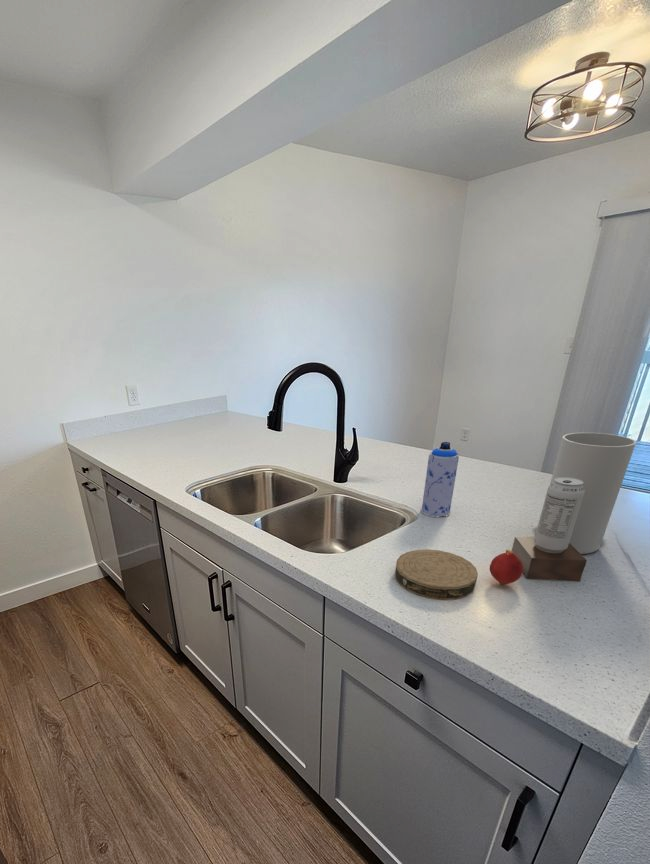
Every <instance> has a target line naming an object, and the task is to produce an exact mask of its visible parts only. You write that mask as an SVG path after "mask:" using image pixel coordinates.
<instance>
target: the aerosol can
mask: <svg viewBox="0 0 650 864" xmlns="http://www.w3.org/2000/svg"><path fill="white" fill-rule="evenodd" d="M427 459H428V460H427V466H426V473H425V474H426V475H425V482H424V488H423V497H422V504H421V508H420V512H421V514H423V513H424V514H426V515H425V516H427V515H430V516H446V515H449V514H450V515H451V512H452V511H451V507H452V502H453V495H454V490H455V483H456V477H457V471H458V465H459V459H460V455H459V453H458V452H457V450H456V449H454V448H453V447H451V442H449V441H443V442H441V443H440V446H438V447H436V448H434V449H433V450H432V451H431V452H430V453H429V455H428V458H427ZM424 514H423V515H424ZM450 515H449V516H450ZM430 516H429V517H430ZM446 517H447V516H446Z"/></svg>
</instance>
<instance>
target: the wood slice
mask: <svg viewBox="0 0 650 864" xmlns="http://www.w3.org/2000/svg"><path fill="white" fill-rule="evenodd" d="M395 562H396V563H395V573H394V574H395V575H394V578H395V580H396V582H397V583H398V584H399V585H400V586H401V587H402V588H403V589H404V590H406V591H408V592H410V593H412V594H414V595H417V596H420V597H423V598H427V599H432V600H440V601H450V600H451V601H452V600H459V599H463V598H466V597H468V596H469V595H471V594H472V593H473V592H474V590H475V587H476V585H477V580H478V575H479V574H478V570H477V567H476V566H475V565H474V564H473V563H472V562H471V561H469V560H467V559H466V558H464V557H463V556H460V555H457V554H455V553H452V552H448V551H444V550H440V549H439V550H438V549H427V548H426V549H415V550H414V549H413V550H410V551H407V552H405V553H403V554H400V555H399V557H398V558H397V559H396V561H395Z"/></svg>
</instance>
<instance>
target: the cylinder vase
mask: <svg viewBox="0 0 650 864" xmlns="http://www.w3.org/2000/svg"><path fill="white" fill-rule="evenodd" d="M636 444H637V441H636V440H635V439H633V438H630V437H627V436H624V435H619V434H613V433H604V432H571V433H567V434H564V435H563V436H562V439H561V443H560V446H559V449H558V453H557V457H556V461H555V464H554V469H553V472H552V476H551V479H550V483H549V485H550V484H551V483H552V482H553V481H554V478H557V477H571V478H576V479H579V480H582V481H583V482H584V483H583V487H584V490H585V493H584V496H583V499H582V502H581V506H580V509H579V512H578V515H577V519H576V522H575V525H574V528H573V532H572V535H571V538H570V541H569V543H570V544H571V545H572V546H573V547H574V548H575V549H576V550H577V551H578V552H579V553H580V554H581V555H588V554H592V553H595V552H597V551H598V550H599V549H600V548H601V544H602V542H603V539H604V536H605V533H606V530H607V528H608V524H609V521H610V519H611V516H612V513H613V511H614V507H615V504H616V501H617V499H618V496H619V493H620V490H621V488H622V484H623V481H624V479H625V476H626V474H627V470H628V467H629V464H630V461H631V458H632V457H633V456H632V455H633V453H634V450H635V447H636Z"/></svg>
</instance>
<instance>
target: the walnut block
mask: <svg viewBox="0 0 650 864" xmlns="http://www.w3.org/2000/svg"><path fill="white" fill-rule="evenodd" d="M534 538H535V536H534V537H531V536H515V537H514V540H513V543H512V547H511V551H512V552H513V553H514V554H515V555H516V556H518V557H519V559H520V560H521V562H522V564H523V573H522V575H523V576H524V578H525V579H528V580H545V581H562V582H563V581H565V582H581V579H582V576H583V573H584V570H585V567H586V565H587V559H586V558H585V556H583V554H580V553H579V552H578V551H577V550H576V549H575V548H574V547H573V546H572V545H571V544H570V543H569V545H568V548H567V549H565V550H563V552H561V553H548V552H544V551H541V550H539V549H538V548H537V547H536V544H535V543H534Z"/></svg>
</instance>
